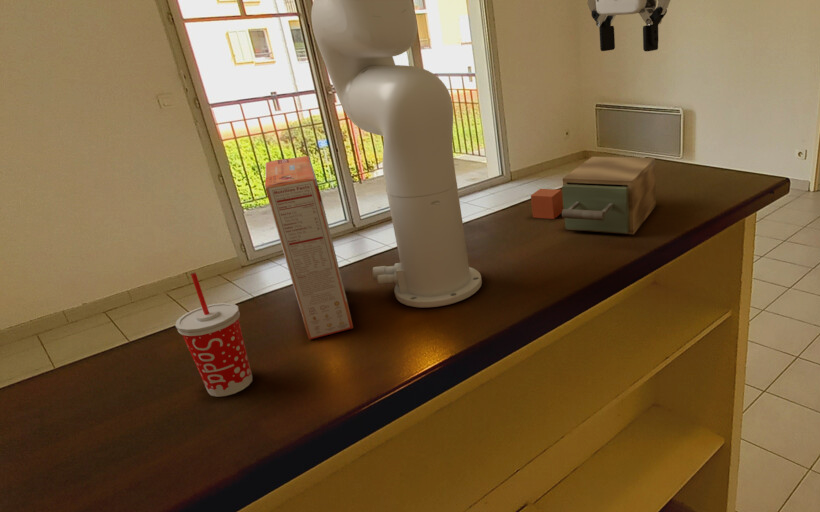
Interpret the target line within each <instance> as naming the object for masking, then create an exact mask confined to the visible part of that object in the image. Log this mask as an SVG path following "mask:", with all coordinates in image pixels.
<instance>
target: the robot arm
mask: <svg viewBox="0 0 820 512" xmlns="http://www.w3.org/2000/svg"><path fill="white" fill-rule="evenodd" d="M657 2H658V3H657ZM670 3H671V0H587V6H588V9H589V11H590V13H591V15H590V16H591V17H592V19H593V20H594V21H595V25H596V27H597V28H598V29H599V30H598V31H599V49H600V51H601V52H607V51H614V50H615V48H616V43H615V42H616V40H615V39H616V38H615V26H614V25H612V23H613V21H614V20H615V17H616V16H622V15H623V16H624V15H635V14H639V16H640V17H641V18H642V19H641V20H643V22H644V23H645V25H643V26H642V46H643V47H642V48H643V51H644V52H653V51H657V50H658V49H659V25H661V24H662V20H663V19H664V17H665V16H666V14H667V12H668V8H669V5H670ZM310 14H311V17H310V19H311V28H312V31H313V36H314V39H315V41H316V45H317V48H318V51H319V52H320V56H321V57H322V60H323V63H324V65H325V68H326V70H327V74H328V76H329V79H330V81H331V84H332V86H333V88H334V91H335V93H336V96H337V98H338V101H339V103H340V105H341V107H342V109H343V111H344V113H345V115H346V116H347V117H348V119H349V120H350V121H351V122H352V123H353V124H354V125H355V126H356V127H357V128H359V129H360V130H362V131H364V132H366V133H370V134H373V135H376V136H380V137H383V148H382V149H383V151H382V174H383V181H384V186H385V192H386V196H387V201H388V206H389V211H390V216H391V221H392V227H393V232H394V237H395V242H396V247H397V251H398V252H397V253H398V258H399V262H395V263H394V265H389V266H387V265H381V266H380V265H379V266H373V267H372V277H373V279H374V281H376V280H377V284H378V285H388V284H395V286H394V288H393V289H394V295H395V298H396V300H397V301H398V302H399V303H401V304H402V305H405V306H407V307H412V308H421V309H423V308H428V309H429V308H438V307H444V306H449V305H452V304H456V303H459V302H461V301H464V300H466V299H468V298H470V297H472V296H473V295H474V294H476V293H477V292H478V291H479V290H480V289H481V287H482V284H483V279H482V275H481V272H479V271H478V270H477V269H475V268H474V267H470V265H469V256H468V250H467V242H466V236H465V230H464V223H463V216H462V209H461V201H460V194H459V189H458V188H459V187H458V181H457V175H456V168H455V159H454V148H453V132H454V131H453V130H454V106H453V100H452V97H451V94H450V92H449V89H448V88H447V86H446V85H445V83H444V82H443V81H442V80H441V78H440V77H439V76H437V75H436V74H435V73H433V72H431V71H429V70H428V69H425V68H422V67H419V66H414V65H403V64H402V65H401V64H396V63H395V60H394V59H395V58H394V57H397V56H401V55H403V54H404V53H405V52H407V51H408V50H410V49H411V48H412V46H413V45H414V43H415V41H416V38H417V35H418V21H417V15H416V12H415V8H414V4H413V2H412V0H313V1H312V6H311V13H310Z"/></svg>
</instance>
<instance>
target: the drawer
mask: <svg viewBox="0 0 820 512" xmlns="http://www.w3.org/2000/svg"><path fill="white" fill-rule="evenodd" d="M561 188H562V202H563V210H562V213H561V217H562V219H564V225H565V226H564V227H565V230H566V229H579V230H593V231H607V232H622V233H628V232H629V205H628V185H609V184H585V183H572V185H570V184H565V185H563V184H562V187H561Z"/></svg>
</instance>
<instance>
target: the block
mask: <svg viewBox="0 0 820 512" xmlns="http://www.w3.org/2000/svg"><path fill="white" fill-rule="evenodd" d="M530 203H531V212H532V218H533V219H545V220H546V219H548V220H555V219H557V218H558V216H560V215H562V210H563V209H564V204H563V191H562V189H555V188H539V189H538V190H537V191H535V192H533V193H532V194H531V195H530Z"/></svg>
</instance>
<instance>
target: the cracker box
mask: <svg viewBox="0 0 820 512" xmlns="http://www.w3.org/2000/svg"><path fill="white" fill-rule="evenodd" d="M264 183H265V184H264V188H265V193H266V195H267V199H268V202H269V203H268V204H269V207H270V209H271V214H272V217H273V221H274V224H275V228H276V231H277V235H278V238H279V241H280V245H281V248H282V252H283V256H284V259H285V263H286V266H287V269H288V273H289V277H290V279H291V283H292V287H293V290H294V293H295V296H296V300H297V304H298V306H299V310H300V313H301V316H302V321H303V325H304V328H305V331H306V334H307V337H308V340H314V339H319V338H322V337H325V336H328V335H333V334H337V333H341V332H344V331H345V332H346V331H349V330H352V329H354V325H353V321H352V315H351V311H350V307H349V303H348V299H347V294H346V291H345V287H344V286H345V285H344V283H343V279H342V278H343V277H342V274H341V271H340V267H339V266H340V265H339V262H338V259H337V254H336V250H335V246H334V242H333V238H332V233H331V231H330V227H329V222H328V218H327V214H326V210H325V206H324V203H323V198H322V195H321V191H320V187H319V184H318V180H317V177H316V174H315V170H314V167H313V164H312V161H311V158H310V156H309V155H304V156H298V157H291V158H290V157H289V158H281V159H275V160H271V161H267V162H265V182H264Z"/></svg>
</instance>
